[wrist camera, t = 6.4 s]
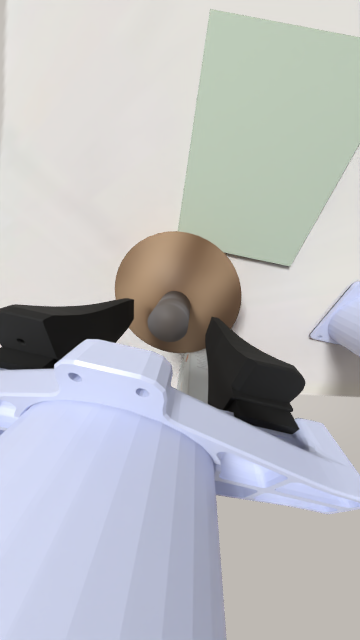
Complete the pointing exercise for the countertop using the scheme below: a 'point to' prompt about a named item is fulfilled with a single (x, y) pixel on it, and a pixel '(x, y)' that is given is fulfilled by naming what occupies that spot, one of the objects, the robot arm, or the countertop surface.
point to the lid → (178, 290)
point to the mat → (269, 134)
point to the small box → (194, 375)
